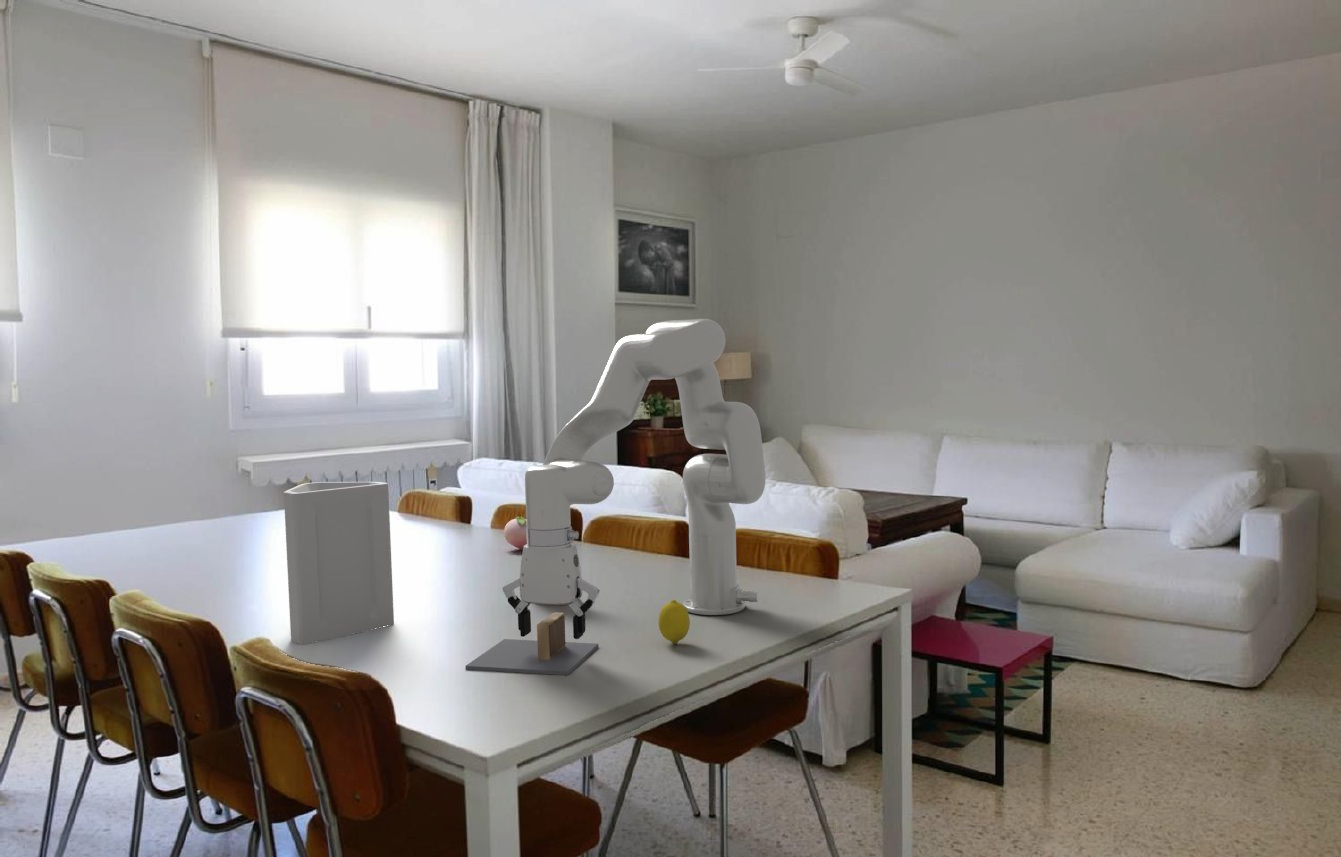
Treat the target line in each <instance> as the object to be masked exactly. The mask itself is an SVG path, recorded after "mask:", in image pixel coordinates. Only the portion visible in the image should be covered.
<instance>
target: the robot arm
mask: <svg viewBox="0 0 1341 857" xmlns="http://www.w3.org/2000/svg"><path fill="white" fill-rule="evenodd" d="M725 347H726V335H725V332H724V330H723V328H722V326H721V325H720V324H719V323H718V322H716V321H715V320H712V319H709V318H693V319H676V320H675V319H674V320H673V319H671V320H664V321H663V320H662V321H659V322H656V323H653V324H652V325H650V326H649V327H648V328H647V330H646V331H645V333H635V334H629V335H626V336H624V337H622V338H621V339H619V340H618V341H617V343H616V344H615V346H614V347H613V350H612V352H611V354H610V356H609V359H608V361H607V363H606V365H605V368H604V370H603V373H602V375H601V377H600V379H599V381H598V384H597V386H596V387H595V390H594V392H593V394H592V397H591V399H590V401H589V402H588V404H586V406H584V407H583V408H582V409H581V410H579V412H578V413H576V415H574V417H572V419H571V420H569V422H567V423H566V424H565V425H564V427H563V428H562V429H561V430H560V431H559V433H557V435H556V437H555V438H554V439H553V442H552V443H551V446H550V447H549V450H548V452H547V454H546V456H545V459H544V461H543V464H541V465H533V466H530V467H528V468H527V469H526V471H525V474H524V488H525V491H524V492H525V493H524V494H525V496H524V497H525V519H526V524H527V544H526V545H525V546H524V548H523V550H522V554H521V560H520V572H519V578H517V579H516V580H513V581H511V582H509V583H508V584H506V585H504V586H503V587H502V592H503V594H504V596H505V598H506V599H507V602H508V604H509V605H510V606H511V607H512V608H513V609H514V612H515V614H517V627H518V628H517V629H518V630H519V631H520V632H519V633H520V634H519V635H520V637H526V636H528V635H529V634H530V633H531V631H532V621H531V620H532V619H531V618H532V617H531V610H530V609H529V606H530V605H531V604H532V605H534V604H535V605H557V606H562V605H565V606H569V607H570V608H571V610H572V612H574V614H575V615H573V617H572V627H573V631H572V632H573V639H574V640H579V639H580V638H581V637H583V636H584V634H585V632H586V629H587V628H586V613H587V612H588V610H589V609H591V607H593V605H594V604H595V602H596V600H597V598H598V596H599V594H600V588H598V587H597V586H594V584H591V583H590V582H588V581H586V580H584V579H583V577H582V568H581V562H580V556H579V551H578V548H577V543H573V544H572V543H571V542H572V540H578V539H579V536H580V534H579V531H577V530H576V531H575V530H573V527H572V526H571V524H572V523H571V506H572V505H595V504H599V503H602V502H603V501H605V500H607V499H608V497H610V495H611V494H612V491H613V489H614V485H615V482H614V481H615V480H614V476H613V473H612V471H611V470H610V469H609V468H608V467H607V466H605V465H604V464H602V463H600V462H597V461H591V460H582V459H583V458H584V456H585V455H586V454H587V452H588V451H589V450H590V449H591V448H592V447H593V446H594V445H595V444H596V443H598V442H599V441H601V440H602V439H604V438H606V437H608V436H610V435H612V434H615V433H616V432H619V431H621V430H622V429H624V428H626V427H627V426H629V425H631V423H632V422H633V421H634V419H635V417H636V414H637V412H638V409H639V407H640V405H641V402H642V400H643V398H644V396H645V393H646V391H647V388H648V386H649V383H650V382H651V381H652V380H656V381H657V380H662V381H663V380H673V379H675V381H676V382H675V383H676V386H677V390H678V394H679V402H680V411H681V418H682V425H683V431H684V436H685V439H686V441H687V442H688V444H690V445H691V446H692V447H695V448H698V449H705V450H706V449H709V450H719V451H720V450H721V451H722V450H723V451H725V452H726V453H725V454H724V453H723V454H722V453H721V454H720V453H718V454H717V453H703V454H702V453H701V454H697V455H694V456H693V457H691V458H690V459H689V460H688V461H687V462H686V464H685V466H684V468H683V472H682V484H683V490H684V494H685V498H686V503H687V512H688V514H687V515H688V544H689V547H688V548H689V551H688V553H689V584H690V585H689V589H690V591H689V592H690V593H689V594H690V595H689V596H690V598H687V599H685V600H684V601H683V602H682V605H684V606H685V608H686V609H687V611H688V613H690V614H695V615H701V616H703V615H704V616H724V615H731V614H736V613H739V612H742V611H743V610H744V609H745V607H746V605H745V604H746V602H749V603H758V602H759V592H755V591H754V590H743V589H742V588H741V583H738V582H737V581H738V578H737V573H738V572H737V525H736V519H735V518H736V517H735V515H734V512H733V510H732V507H731V506H730V504H737V505H751V504H754V503H756V502H758V501H759V500H760V499H761V497H762V495H763V494H764V491H765V488H766V466H765V459H764V458H765V457H764V449H763V441H762V440H763V439H762V431H761V426H760V422H759V419H758V416H757V414H756V412H755V411H754V409H753V408H752V407H751V406H749V405H748V404H746V403H744V402H739V401H725V399H724V396H723V391H722V385H721V380H720V375H719V372H718V370H717V367H716V365H715V362H716V361H718V359H719V358H720V357H721V356H722V354H723V352H724V350H725ZM517 588H519V595H520V598H519V597H518V595H516V594H515V589H517ZM583 592H585V593H587V595H588V596H587V598H586V600H585V601H583V600H582V599H581V598H582V596H583Z"/></svg>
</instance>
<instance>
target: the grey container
mask: <svg viewBox="0 0 1341 857" xmlns="http://www.w3.org/2000/svg"><path fill="white" fill-rule="evenodd" d="M389 494H390V493H389V483H388V482H381V481H320V482H319V481H317V482H307V483H302V484H299V485H296V486H294V487H292V488H290V489H287V490H285V491H283V501H284V502H283V503H284V522H285V523H284V524H285V526H284V527H285V539H286V540H285V545H286V546H285V547H286V562H287V563H286V564H287V565H286V566H287V581H288V582H287V584H288V586H287V587H288V605H289V606H288V607H289V625H290V642H292V643H294V644H296V643H297V645H300V646H303V645H304V644H305V645H309V644H313V643H312V642H314V643H317V642H316V641H319V642H321V641H322V642H323V641H327V640H331V639H336V638H339V637H345V635H346V636H349V635H348V634H350V635H354V634H353V633H355V634H358V633H363V631H364V632H367V630H368V631H372V630H371V629H373V630H376V629H375V628H377V629H380V628H379V627H382V628H384V627H383V626H386V627H388V626H387V625H391V626H394V625H395V616H394V611H395V610H394V591H393V590H394V589H393V571H392V569H393V568H392V566H393V565H392V543H391V541H392V540H391V518H390V500H389V499H390V498H389V497H390V496H389ZM308 643H309V644H308Z"/></svg>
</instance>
